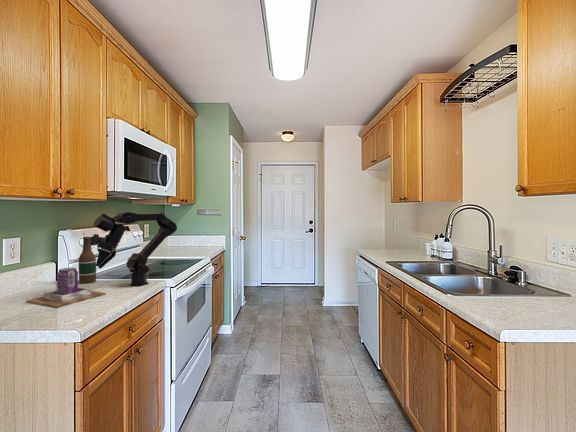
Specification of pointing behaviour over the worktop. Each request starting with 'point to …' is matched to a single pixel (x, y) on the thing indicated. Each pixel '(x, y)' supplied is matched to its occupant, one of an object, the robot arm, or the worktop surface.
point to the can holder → (65, 298)
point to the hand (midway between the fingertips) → (98, 267)
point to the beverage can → (67, 281)
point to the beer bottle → (87, 263)
